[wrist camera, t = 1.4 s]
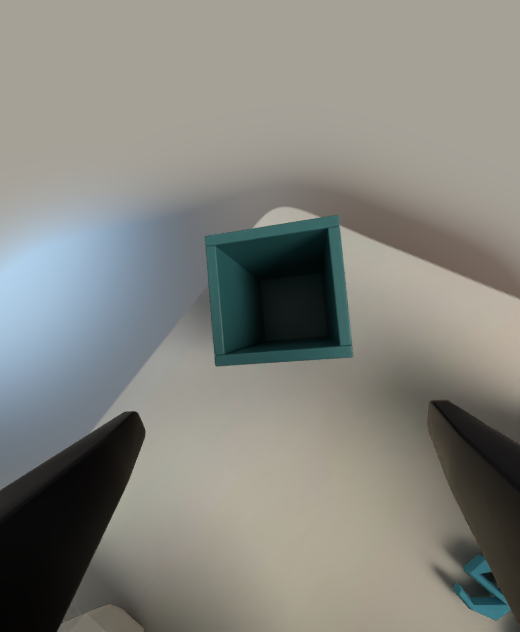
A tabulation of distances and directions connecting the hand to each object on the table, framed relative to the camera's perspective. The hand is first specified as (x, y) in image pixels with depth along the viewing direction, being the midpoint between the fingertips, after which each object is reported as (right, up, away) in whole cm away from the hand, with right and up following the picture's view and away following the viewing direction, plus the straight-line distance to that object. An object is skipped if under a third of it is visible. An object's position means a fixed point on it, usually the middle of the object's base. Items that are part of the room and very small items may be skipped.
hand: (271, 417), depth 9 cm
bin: (+2, +4, +14) cm, 15 cm away
